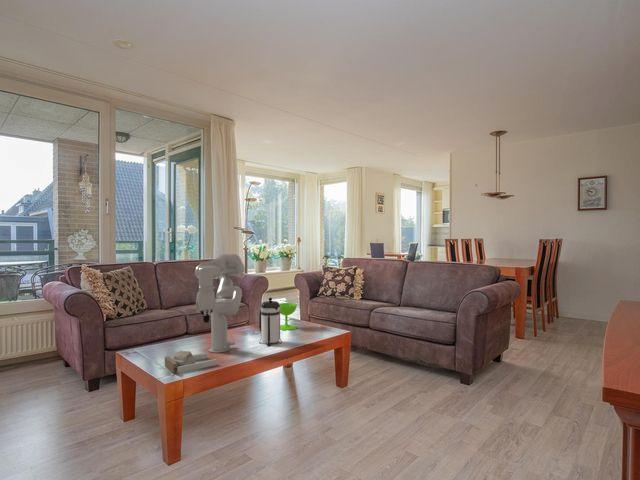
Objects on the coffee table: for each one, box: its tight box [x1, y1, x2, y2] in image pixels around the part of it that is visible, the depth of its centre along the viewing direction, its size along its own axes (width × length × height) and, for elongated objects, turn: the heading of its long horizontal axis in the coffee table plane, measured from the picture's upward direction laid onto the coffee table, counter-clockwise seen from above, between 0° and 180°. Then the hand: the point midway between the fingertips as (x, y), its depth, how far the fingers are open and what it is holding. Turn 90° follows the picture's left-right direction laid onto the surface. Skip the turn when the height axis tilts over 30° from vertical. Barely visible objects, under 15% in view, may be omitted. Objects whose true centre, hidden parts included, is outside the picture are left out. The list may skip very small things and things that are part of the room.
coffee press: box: [258, 297, 283, 347], centre depth 249 cm, size 17×16×30 cm
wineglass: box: [279, 302, 298, 332], centre depth 290 cm, size 16×16×18 cm
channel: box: [164, 352, 218, 375], centre depth 205 cm, size 23×16×5 cm
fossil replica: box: [172, 350, 196, 367], centre depth 202 cm, size 12×8×10 cm
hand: (206, 322), depth 210 cm, fingers closed
